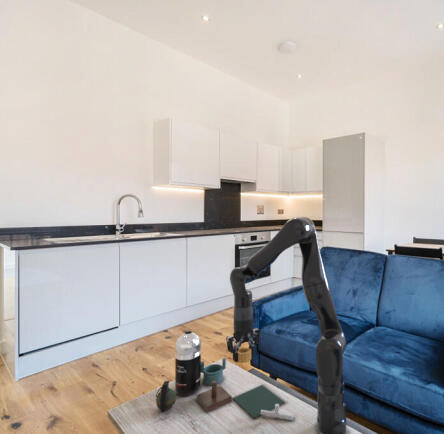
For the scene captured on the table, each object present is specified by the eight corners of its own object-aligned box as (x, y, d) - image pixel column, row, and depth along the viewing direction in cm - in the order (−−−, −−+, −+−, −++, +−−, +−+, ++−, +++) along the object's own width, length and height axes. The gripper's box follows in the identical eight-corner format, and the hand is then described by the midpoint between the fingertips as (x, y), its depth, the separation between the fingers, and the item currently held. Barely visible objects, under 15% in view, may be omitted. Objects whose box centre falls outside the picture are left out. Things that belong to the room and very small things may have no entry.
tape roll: (254, 359, 121) (254, 350, 121) (240, 364, 117) (240, 355, 117) (246, 354, 125) (246, 345, 125) (232, 359, 121) (232, 350, 121)
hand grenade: (159, 403, 119) (159, 378, 119) (178, 402, 120) (178, 376, 120) (152, 417, 111) (152, 389, 111) (172, 415, 112) (172, 388, 112)
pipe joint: (260, 415, 112) (260, 403, 112) (261, 412, 114) (262, 400, 114) (291, 421, 110) (292, 409, 110) (292, 418, 111) (293, 406, 111)
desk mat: (284, 403, 120) (284, 402, 120) (254, 419, 111) (254, 418, 111) (262, 385, 132) (262, 384, 132) (232, 398, 123) (232, 397, 123)
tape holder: (231, 401, 121) (231, 382, 121) (207, 412, 114) (207, 392, 114) (220, 390, 128) (220, 372, 128) (196, 399, 122) (196, 381, 122)
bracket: (198, 382, 134) (198, 362, 134) (214, 372, 142) (214, 353, 142) (212, 388, 130) (212, 367, 130) (228, 378, 138) (228, 358, 137)
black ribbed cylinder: (191, 398, 122) (192, 336, 122) (169, 395, 124) (169, 334, 124) (205, 384, 132) (206, 327, 132) (184, 381, 134) (184, 325, 134)
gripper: (231, 323, 113) (231, 368, 113) (263, 314, 123) (264, 356, 123) (221, 318, 119) (222, 361, 119) (253, 310, 128) (254, 350, 129)
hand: (243, 358), depth 121 cm, fingers closed on tape roll, 6 cm apart
